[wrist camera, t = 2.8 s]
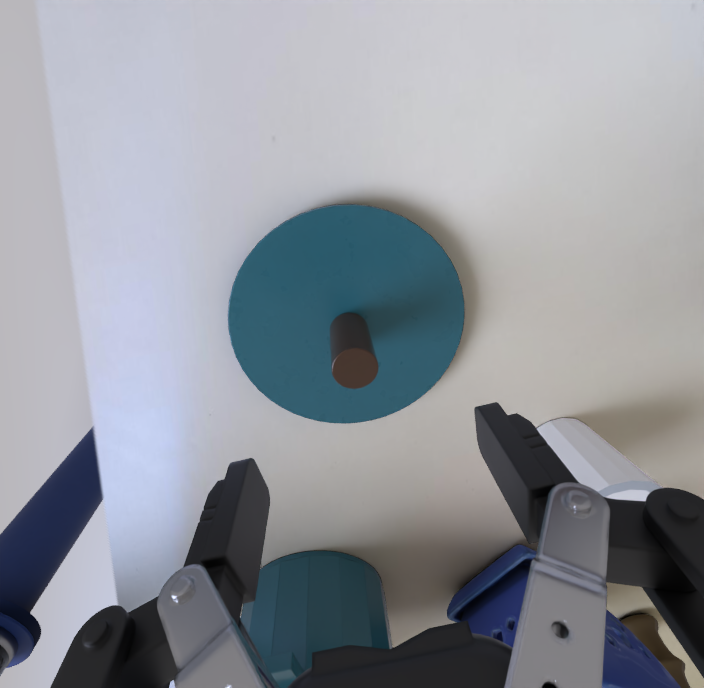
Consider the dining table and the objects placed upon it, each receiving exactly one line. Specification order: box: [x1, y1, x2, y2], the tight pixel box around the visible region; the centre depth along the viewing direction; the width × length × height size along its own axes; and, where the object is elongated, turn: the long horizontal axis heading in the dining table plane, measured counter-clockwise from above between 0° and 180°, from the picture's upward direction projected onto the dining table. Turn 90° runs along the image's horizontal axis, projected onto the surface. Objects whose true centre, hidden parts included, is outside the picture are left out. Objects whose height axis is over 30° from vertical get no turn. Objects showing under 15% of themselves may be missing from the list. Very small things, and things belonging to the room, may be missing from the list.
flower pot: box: [447, 545, 681, 688], centre depth 33 cm, size 13×13×12 cm
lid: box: [228, 204, 464, 423], centre depth 21 cm, size 15×15×6 cm
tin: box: [241, 551, 393, 688], centre depth 32 cm, size 14×19×10 cm
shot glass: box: [536, 418, 663, 501], centre depth 27 cm, size 7×7×7 cm
